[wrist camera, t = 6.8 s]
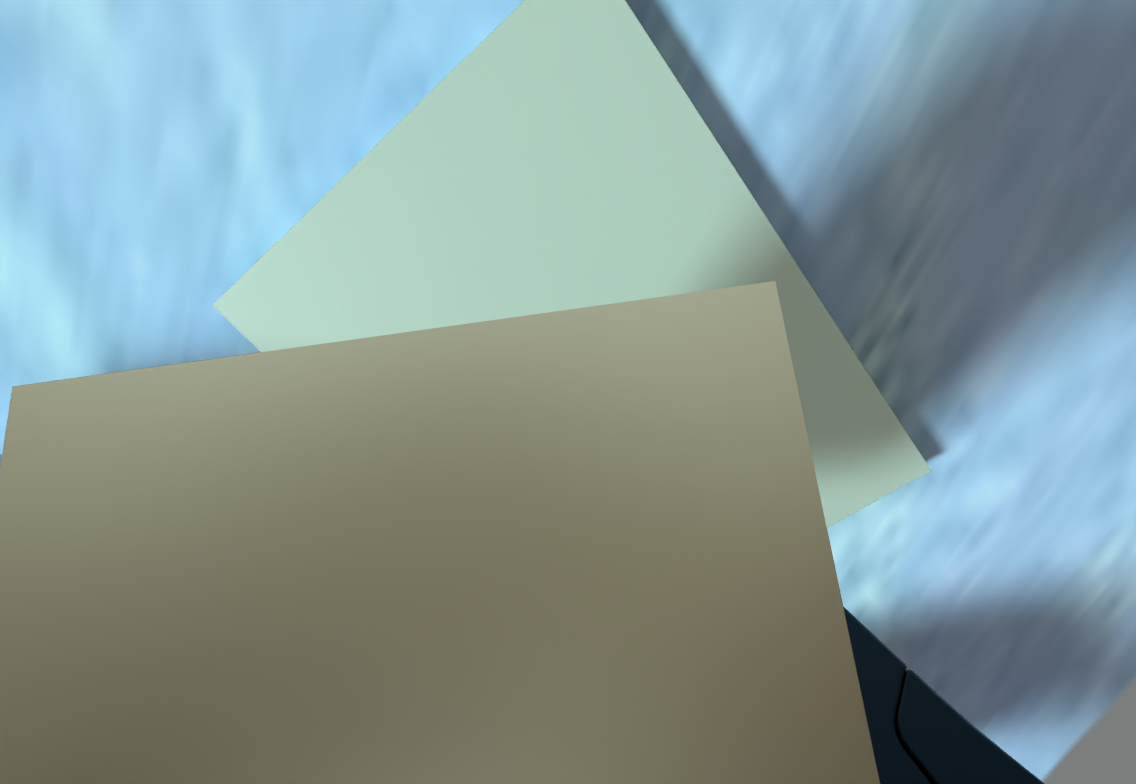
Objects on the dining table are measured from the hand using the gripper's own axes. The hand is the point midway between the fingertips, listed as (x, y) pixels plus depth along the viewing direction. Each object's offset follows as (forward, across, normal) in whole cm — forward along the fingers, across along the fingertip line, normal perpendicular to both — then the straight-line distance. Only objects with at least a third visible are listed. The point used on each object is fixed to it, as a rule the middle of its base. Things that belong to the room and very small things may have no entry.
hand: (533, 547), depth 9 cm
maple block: (+4, 0, +6) cm, 7 cm away
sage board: (+11, 0, +3) cm, 11 cm away
